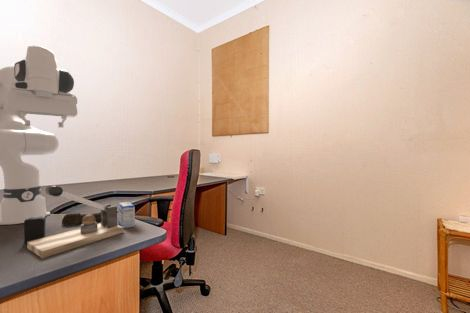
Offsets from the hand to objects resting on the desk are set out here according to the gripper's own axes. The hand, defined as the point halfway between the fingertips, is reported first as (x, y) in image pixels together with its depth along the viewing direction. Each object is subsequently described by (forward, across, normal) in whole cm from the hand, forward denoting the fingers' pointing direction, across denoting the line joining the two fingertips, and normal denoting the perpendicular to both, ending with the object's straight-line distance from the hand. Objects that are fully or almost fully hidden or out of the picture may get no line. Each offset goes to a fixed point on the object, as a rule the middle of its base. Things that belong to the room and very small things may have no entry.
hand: (44, 126), depth 83 cm
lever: (+29, -8, +14) cm, 33 cm away
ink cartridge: (+40, +4, +5) cm, 41 cm away
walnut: (+37, -10, +13) cm, 40 cm away
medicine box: (+41, -24, +8) cm, 48 cm away
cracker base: (+41, -7, +13) cm, 43 cm away
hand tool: (+39, -14, -6) cm, 42 cm away
